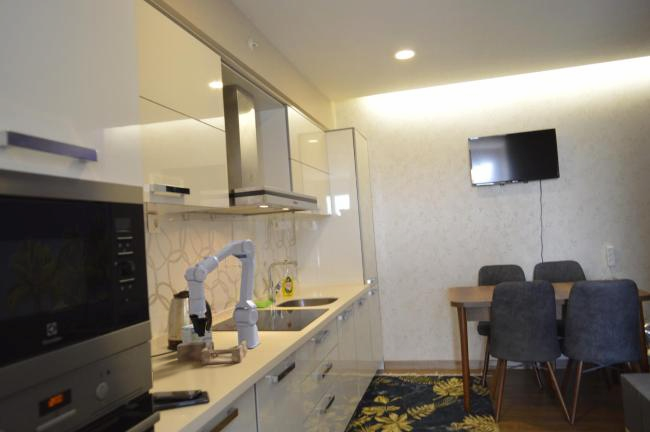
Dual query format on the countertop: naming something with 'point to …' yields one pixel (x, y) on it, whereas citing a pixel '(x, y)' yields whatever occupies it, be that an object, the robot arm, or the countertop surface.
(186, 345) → the brown wooden block
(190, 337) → the light bulb box
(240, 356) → the wooden stool
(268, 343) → the countertop surface
